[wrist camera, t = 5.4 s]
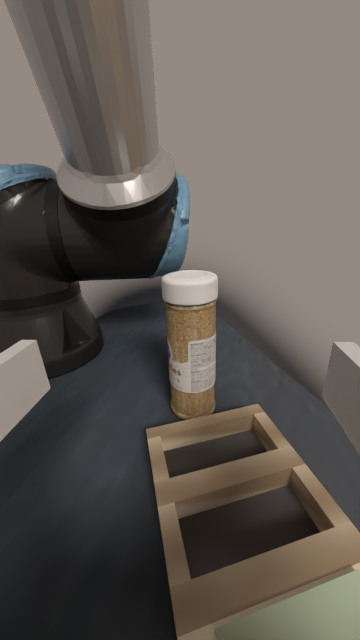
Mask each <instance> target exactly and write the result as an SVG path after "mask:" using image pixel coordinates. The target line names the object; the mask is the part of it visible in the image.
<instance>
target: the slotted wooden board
mask: <svg viewBox="0 0 360 640" xmlns="http://www.w3.org/2000/svg"><path fill="white" fill-rule="evenodd" d="M146 433H147V440H148V448H149V455H150V461H151V468H152V475H153V481H154V488H155V495H156V501H157V508H158V515H159V521H160V528H161V535H162V541H163V548H164V555H165V562H166V568H167V575H168V582H169V588H170V595H171V602H172V608H173V615H174V622H175V628H176V635H177V640H360V533H359V531H358V530H357V529H356V528H355V526H354V525H353V524H352V523H351V521H350V520H349V519H348V517H347V516H346V515H345V514H344V512H343V511H342V510H341V509H340V507H339V506H338V505H337V504H336V502H335V501H334V500H333V498H332V497H331V496H330V495H329V493H328V492H327V491H326V490H325V488H324V487H323V486H322V484H321V483H320V482H319V481H318V479H317V478H316V477H315V476H314V474H313V473H312V472H311V471H310V469H309V468H308V467H307V465H306V464H305V463H304V462H303V460H302V459H301V458H300V457H299V455H298V454H297V453H296V452H295V450H294V449H293V448H292V446H291V445H290V444H289V443H288V441H287V440H286V439H285V438H284V436H283V435H282V434H281V432H280V431H279V430H278V429H277V427H276V426H275V425H274V424H273V422H272V421H271V420H270V419H269V417H268V416H267V415H266V413H265V412H264V411H263V410H262V408H261V407H260V406H259V405H258V404H255V405H251V406H247V407H242V408H238V409H233V410H229V411H224V412H220V413H215V414H211V415H207V416H202V417H198V418H193V419H189V420H184V421H180V422H175V423H171V424H166V425H162V426H158V427H153V428H149V429H146Z"/></svg>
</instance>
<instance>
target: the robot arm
mask: <svg viewBox="0 0 360 640" xmlns="http://www.w3.org/2000/svg"><path fill="white" fill-rule="evenodd" d="M4 1H5V3H6V6H7V8H8V11H9V14H10V16H11V19H12V22H13V24H14V27H15V29H16V32H17V35H18V37H19V40H20V42H21V45H22V47H23V50H24V53H25V55H26V58H27V60H28V63H29V66H30V68H31V71H32V73H33V76H34V78H35V81H36V84H37V86H38V89H39V92H40V94H41V97H42V99H43V102H44V105H45V107H46V110H47V112H48V115H49V117H50V120H51V123H52V125H53V128H54V130H55V132H56V136H57V138H58V140H59V143H60V146H61V149H62V151H63V154H64V158H63V159H62V162H61V163H60V165H59V167H58V170H57V175H56V173H55V172H54V171H53V170H52V169H50V168H48V167H45V166H41V165H35V164H19V165H10V164H0V441H1V440H2V439H3V438H4V437H5V436H6V435H7V434H8V433H9V432H10V431H11V430H12V429H13V428H14V427H15V425H16V424H17V423H18V422H19V421H20V420H21V419H22V418H23V417H24V416H25V415H26V414H27V413H28V412H29V411H30V410H31V409H32V407H33V406H34V405H35V404H36V403H37V402H38V401H39V400H40V399H41V398H42V397H43V396H44V395H45V394H46V393H47V392H48V390H49V389H50V384H49V381H48V378H52V377H55V376H59V375H62V374H64V373H67V372H69V371H72V370H74V369H76V368H78V367H80V366H82V365H84V364H85V363H87V362H88V361H90V360H91V359H93V358H94V357H95V356H96V355H97V354H98V353H99V352H100V350H101V349H102V347H103V338H102V332H101V329H100V326H99V325H98V323H97V321H96V320H95V318H94V316H93V314H92V313H91V311H90V309H89V308H88V306H87V304H86V303H85V301H84V299H83V297H82V294H81V290H80V285H79V281H88V280H112V279H137V278H154V277H157V276H164V275H166V274H169V273H172V272H176V271H178V270H179V269H180V268H181V266H182V264H183V262H184V258H185V254H186V249H187V242H188V232H189V228H188V223H189V215H190V194H189V186H188V182H187V180H186V178H185V177H183V176H180V175H178V174H176V172H175V163H174V160H173V158H172V157H171V155H170V154H169V153H168V152H167V151H166V150H165V149H164V148H162V146H161V145H159V143H158V129H157V115H156V101H155V86H154V72H153V58H152V44H151V31H150V16H149V4H148V3H149V1H148V0H4ZM322 397H323V399H324V401H325V402H326V404H327V405H328V407H329V408H330V410H331V411H332V413H333V414H334V416H335V417H336V419H337V421H338V422H339V424H340V425H341V427H342V428H343V430H344V431H345V433H346V434H347V436H348V438H349V439H350V441H351V442H352V444H353V445H354V447H355V448H356V450H357V451H358V453H359V455H360V347H359V346H358V345H356V344H355V343H354V342H333V346H332V351H331V356H330V361H329V365H328V370H327V375H326V380H325V385H324V389H323V395H322Z"/></svg>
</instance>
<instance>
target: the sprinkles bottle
mask: <svg viewBox="0 0 360 640" xmlns="http://www.w3.org/2000/svg"><path fill="white" fill-rule="evenodd" d="M217 296H218V277H217V275H216V274H214V273H212V272H209V271H201V270H184V271H176V272H172V273H169V274H166V275H164V276H163V277H162V297H163V299H164V303H165V306H166V320H167V344H168V359H169V377H170V383H171V398H172V399H171V409H172V411H173V413H174V414H175V415H176V416H178V417H179V418H181V419H183V420H189V419H193V418H198V417H202V416H207V415H211V414H212V413H213V412H214V409H215V399H214V382H215V366H216V330H215V312H216V310H215V303H216V298H217Z"/></svg>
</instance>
